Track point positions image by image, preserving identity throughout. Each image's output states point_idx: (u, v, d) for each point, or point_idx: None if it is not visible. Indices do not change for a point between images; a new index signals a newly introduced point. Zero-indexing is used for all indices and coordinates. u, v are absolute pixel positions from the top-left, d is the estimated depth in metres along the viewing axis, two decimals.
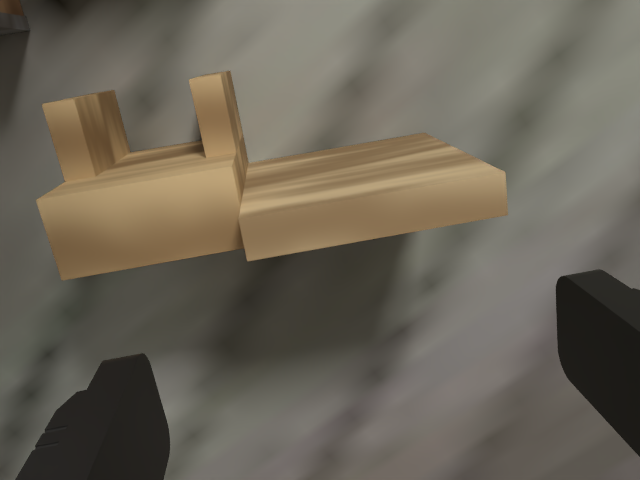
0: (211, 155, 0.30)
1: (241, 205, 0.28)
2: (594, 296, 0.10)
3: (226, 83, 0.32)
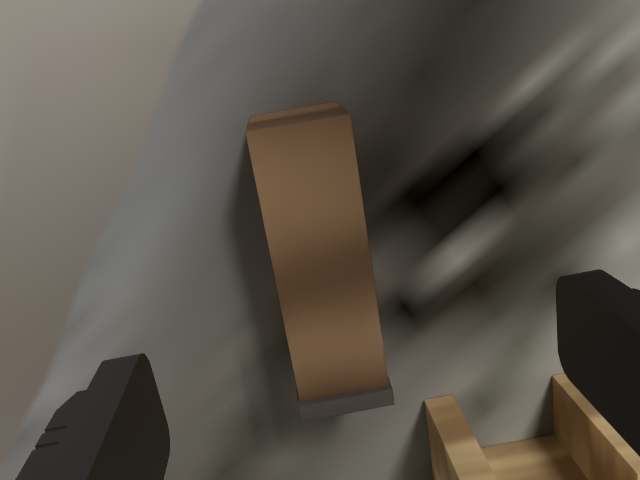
0: None
1: None
2: (594, 296, 0.10)
3: None
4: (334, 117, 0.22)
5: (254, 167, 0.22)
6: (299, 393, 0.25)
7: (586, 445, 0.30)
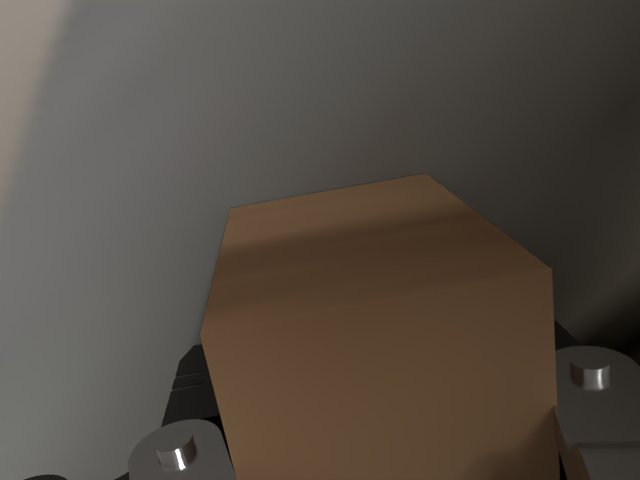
0: None
1: None
2: None
3: None
4: (498, 279, 0.07)
5: (231, 436, 0.07)
6: None
7: None
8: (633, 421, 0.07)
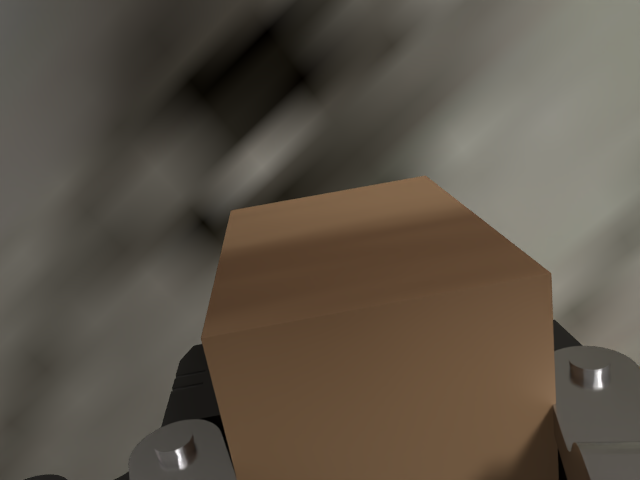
0: None
1: None
2: None
3: None
4: (497, 283, 0.07)
5: (232, 439, 0.07)
6: None
7: None
8: (633, 421, 0.07)
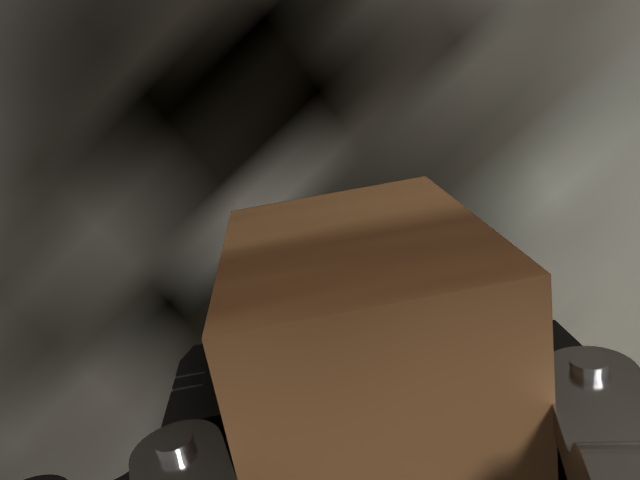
0: None
1: None
2: None
3: None
4: (497, 284, 0.07)
5: (233, 439, 0.07)
6: None
7: None
8: (633, 421, 0.07)
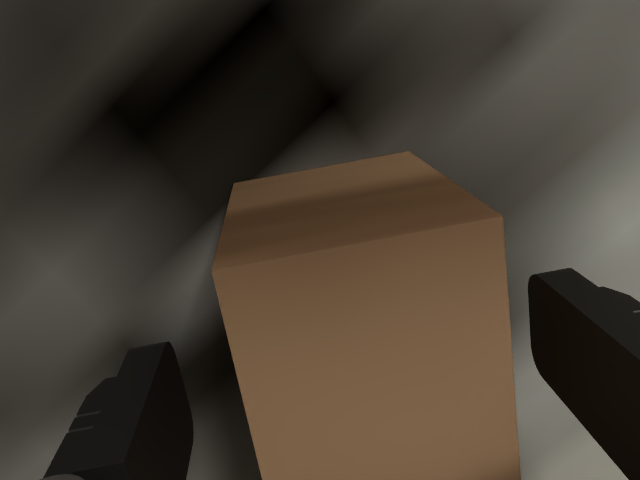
0: None
1: None
2: (561, 294, 0.10)
3: None
4: (458, 225, 0.08)
5: (237, 358, 0.08)
6: None
7: None
8: None
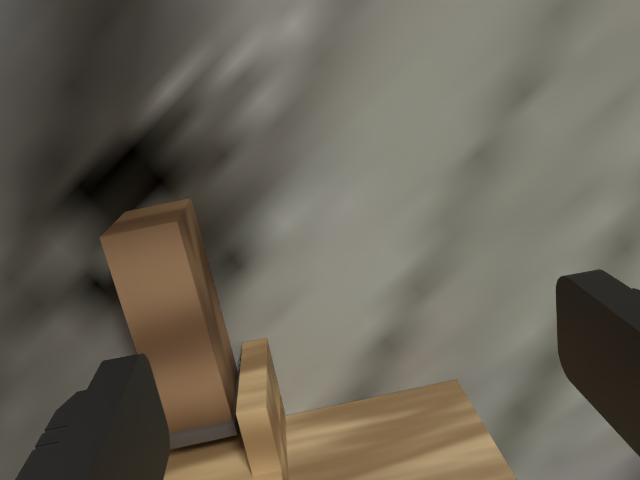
0: (257, 474, 0.31)
1: None
2: (594, 296, 0.10)
3: (268, 387, 0.33)
4: (165, 224, 0.29)
5: (108, 262, 0.30)
6: None
7: None
8: None
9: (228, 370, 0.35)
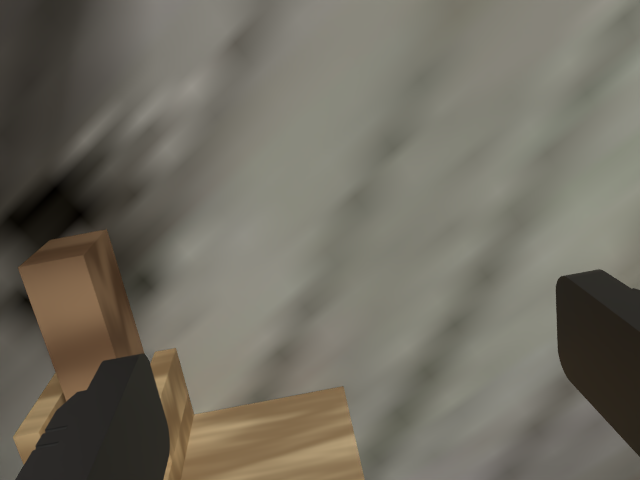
0: None
1: None
2: (594, 296, 0.10)
3: (166, 392, 0.39)
4: (73, 257, 0.35)
5: (26, 287, 0.36)
6: None
7: None
8: None
9: None
